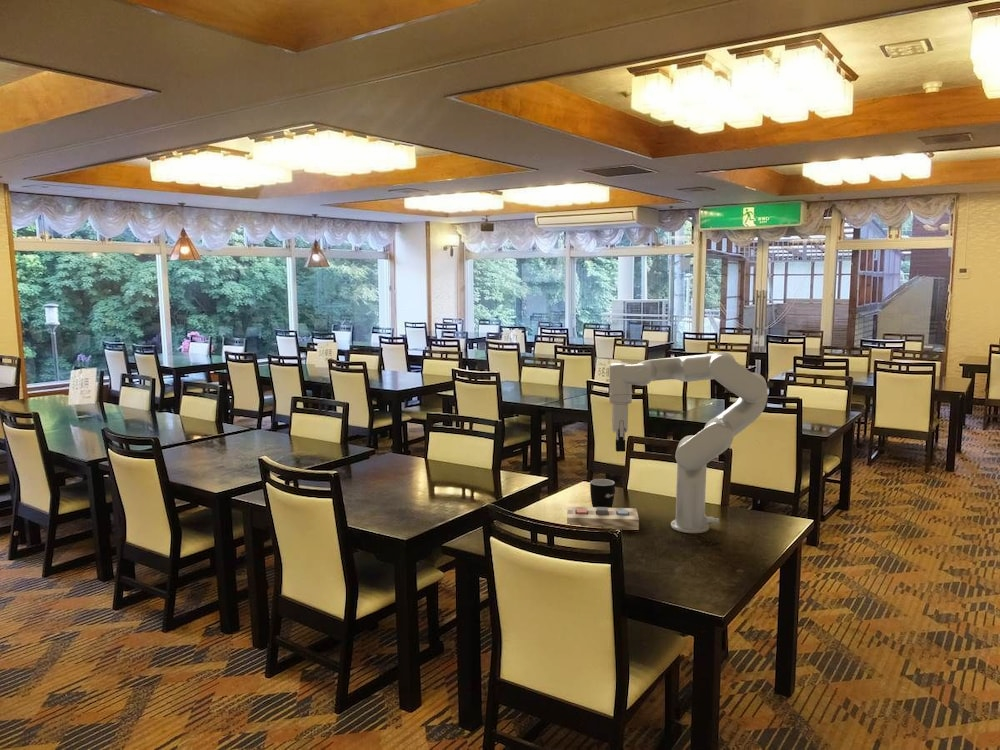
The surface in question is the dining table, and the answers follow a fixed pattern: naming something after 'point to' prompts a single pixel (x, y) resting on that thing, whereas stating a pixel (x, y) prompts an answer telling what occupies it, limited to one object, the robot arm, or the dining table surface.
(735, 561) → the dining table surface
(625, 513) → the button blue
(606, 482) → the mug
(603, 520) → the panel
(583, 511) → the button red
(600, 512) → the button grey
